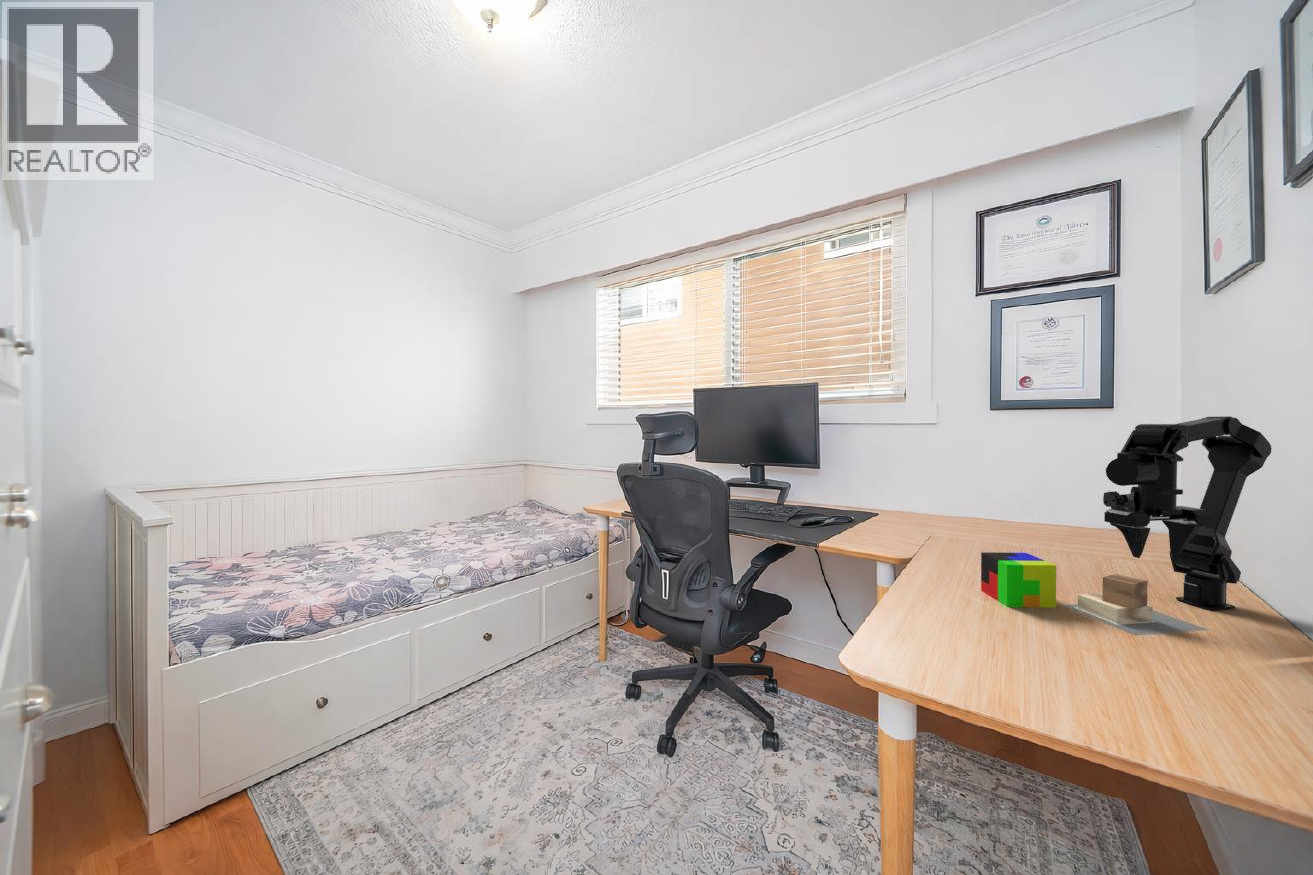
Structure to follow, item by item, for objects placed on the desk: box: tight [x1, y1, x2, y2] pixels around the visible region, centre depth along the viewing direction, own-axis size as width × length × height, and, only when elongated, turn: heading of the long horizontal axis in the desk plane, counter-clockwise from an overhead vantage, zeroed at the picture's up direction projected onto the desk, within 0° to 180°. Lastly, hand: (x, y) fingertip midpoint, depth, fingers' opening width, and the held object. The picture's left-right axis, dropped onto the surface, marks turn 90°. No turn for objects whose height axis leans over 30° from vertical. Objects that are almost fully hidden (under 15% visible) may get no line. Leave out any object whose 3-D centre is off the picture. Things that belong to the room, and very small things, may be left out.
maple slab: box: [1077, 592, 1153, 623], centre depth 101 cm, size 8×8×3 cm
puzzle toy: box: [980, 551, 1057, 608], centre depth 111 cm, size 10×10×10 cm
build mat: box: [1060, 603, 1209, 636], centre depth 100 cm, size 16×15×1 cm
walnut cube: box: [1102, 573, 1149, 609], centre depth 99 cm, size 5×5×5 cm
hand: (1155, 556), depth 103 cm, fingers open, 9 cm apart
